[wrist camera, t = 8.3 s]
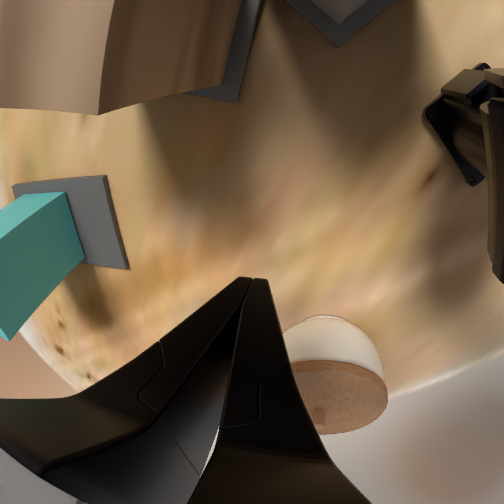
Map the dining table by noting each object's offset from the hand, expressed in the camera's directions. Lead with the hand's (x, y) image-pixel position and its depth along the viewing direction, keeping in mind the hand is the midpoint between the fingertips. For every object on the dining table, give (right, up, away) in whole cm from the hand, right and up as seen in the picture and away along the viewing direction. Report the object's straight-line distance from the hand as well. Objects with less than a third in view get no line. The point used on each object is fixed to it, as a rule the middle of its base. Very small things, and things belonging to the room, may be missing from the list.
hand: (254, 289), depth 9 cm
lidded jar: (+7, -7, +19) cm, 21 cm away
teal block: (-20, +4, +17) cm, 27 cm away
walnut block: (-4, +15, +6) cm, 17 cm away
